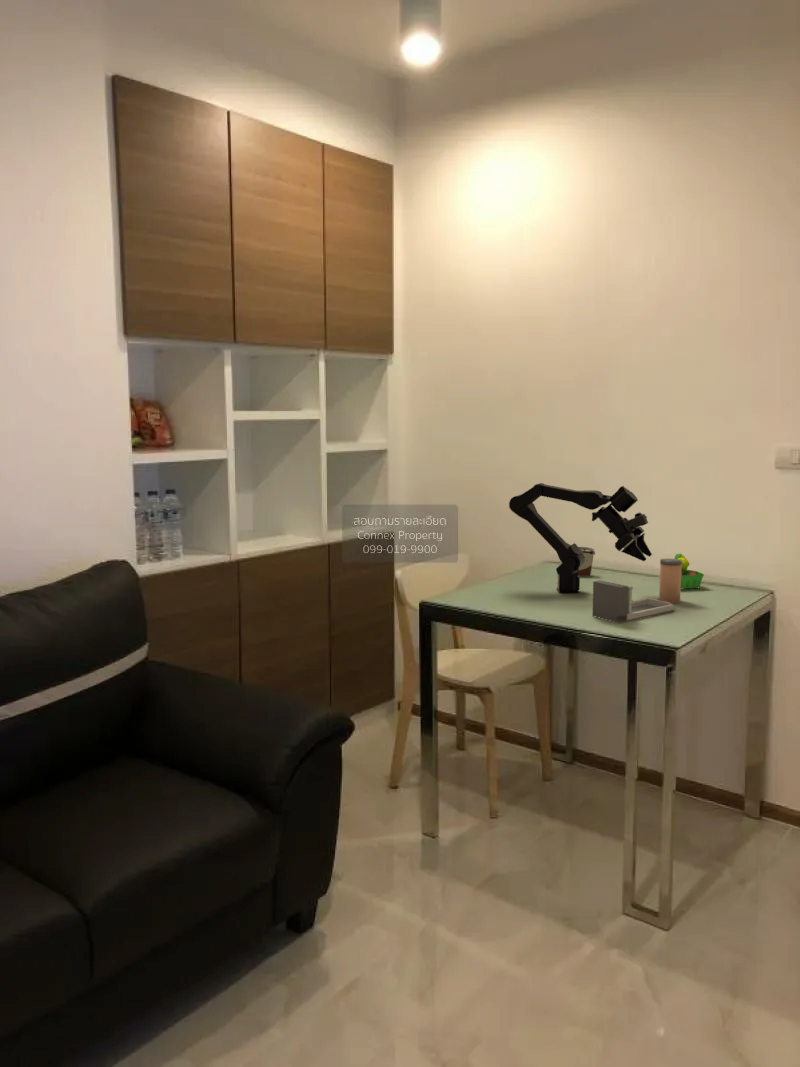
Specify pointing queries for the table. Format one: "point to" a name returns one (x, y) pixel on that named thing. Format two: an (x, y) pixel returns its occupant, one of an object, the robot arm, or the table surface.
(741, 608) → the table surface
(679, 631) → the table surface
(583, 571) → the food container
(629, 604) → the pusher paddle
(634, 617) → the lane
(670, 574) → the jar
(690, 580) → the fruit basket
